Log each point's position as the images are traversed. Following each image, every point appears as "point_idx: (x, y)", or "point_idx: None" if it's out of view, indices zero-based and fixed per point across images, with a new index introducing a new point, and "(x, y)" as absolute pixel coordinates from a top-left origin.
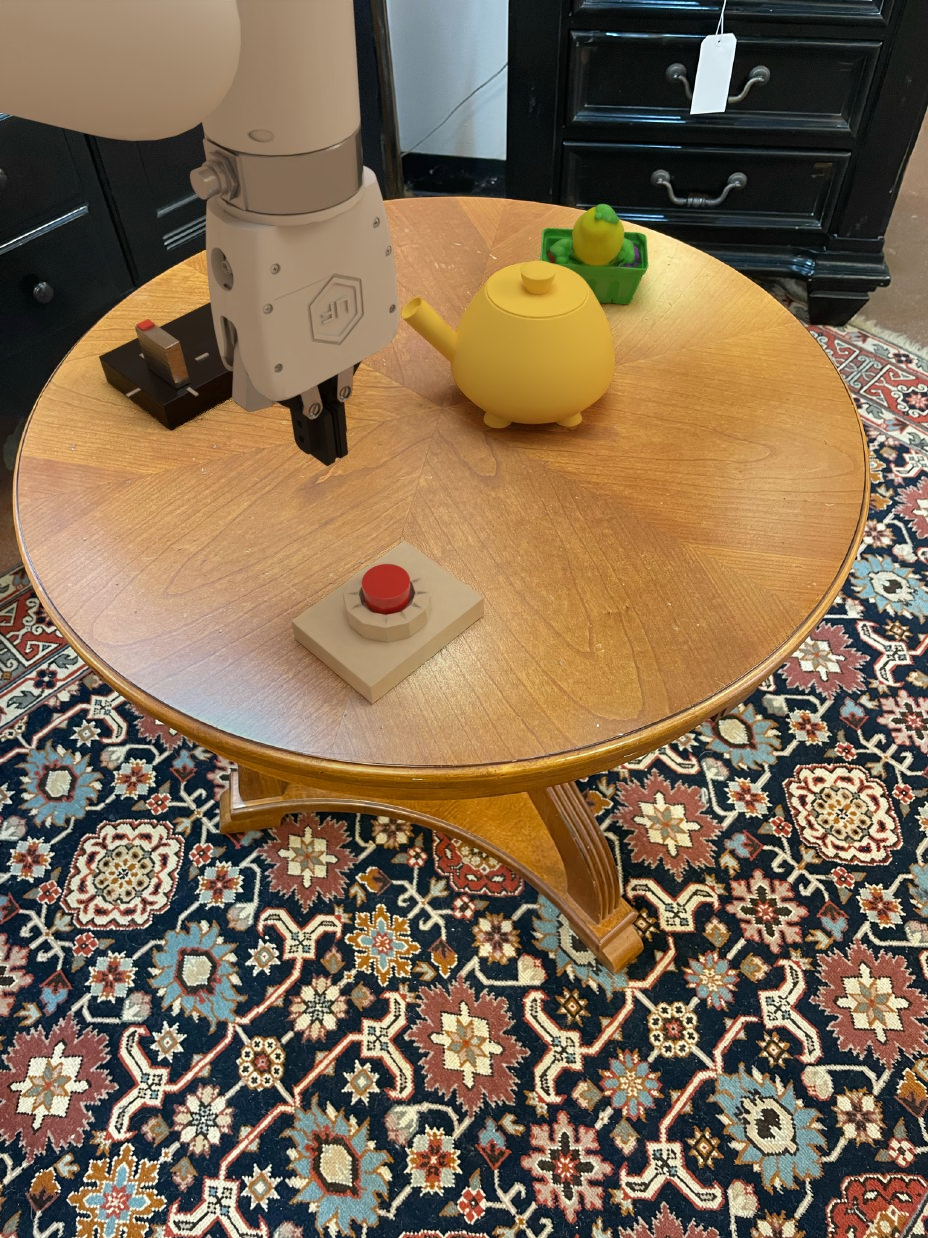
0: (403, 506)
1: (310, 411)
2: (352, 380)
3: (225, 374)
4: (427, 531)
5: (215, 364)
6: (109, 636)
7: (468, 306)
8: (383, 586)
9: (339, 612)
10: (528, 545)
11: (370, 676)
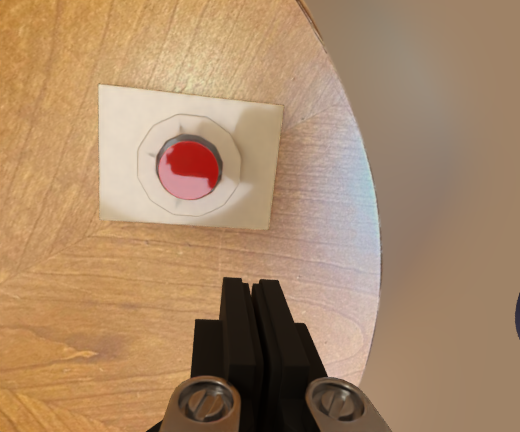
0: (49, 266)
1: (352, 403)
2: (163, 427)
3: None
4: (57, 220)
5: None
6: (356, 337)
7: None
8: (197, 167)
9: (229, 200)
10: None
11: (273, 114)
